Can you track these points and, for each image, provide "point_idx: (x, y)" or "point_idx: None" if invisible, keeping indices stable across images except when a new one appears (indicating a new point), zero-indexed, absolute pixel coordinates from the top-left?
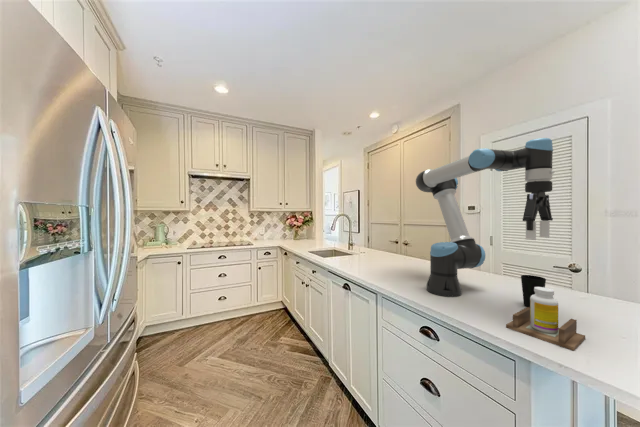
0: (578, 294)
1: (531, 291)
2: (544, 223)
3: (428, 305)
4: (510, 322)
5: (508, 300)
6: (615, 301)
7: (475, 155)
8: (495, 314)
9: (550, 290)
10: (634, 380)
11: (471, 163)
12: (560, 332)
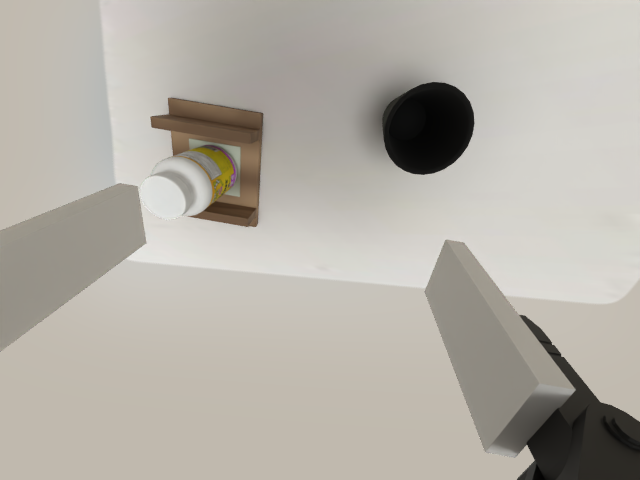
0: None
1: (383, 125)
2: (487, 380)
3: None
4: (190, 103)
5: (424, 40)
6: (619, 278)
7: None
8: (238, 48)
9: (163, 213)
10: (160, 263)
11: None
12: None
